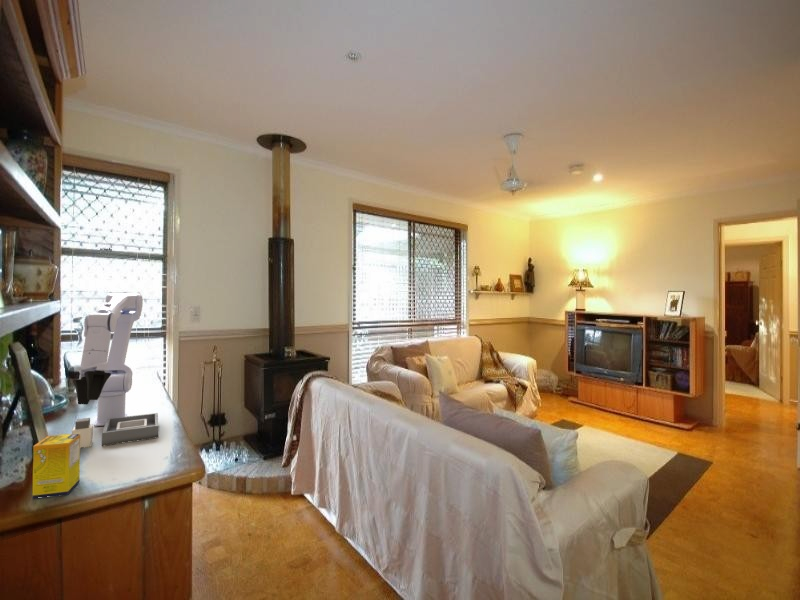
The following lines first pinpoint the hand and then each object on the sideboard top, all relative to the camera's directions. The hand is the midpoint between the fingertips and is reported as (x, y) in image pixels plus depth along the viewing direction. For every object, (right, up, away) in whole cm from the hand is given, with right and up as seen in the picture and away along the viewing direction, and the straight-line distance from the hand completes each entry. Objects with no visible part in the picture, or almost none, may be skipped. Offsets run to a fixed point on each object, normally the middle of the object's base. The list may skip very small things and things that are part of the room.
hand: (87, 402), depth 105 cm
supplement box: (+13, -13, -24) cm, 30 cm away
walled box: (+5, -12, +10) cm, 16 cm away
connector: (-2, -12, 0) cm, 12 cm away
